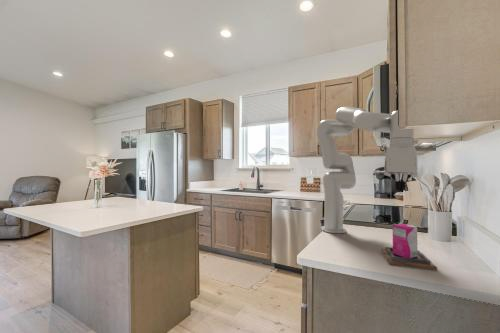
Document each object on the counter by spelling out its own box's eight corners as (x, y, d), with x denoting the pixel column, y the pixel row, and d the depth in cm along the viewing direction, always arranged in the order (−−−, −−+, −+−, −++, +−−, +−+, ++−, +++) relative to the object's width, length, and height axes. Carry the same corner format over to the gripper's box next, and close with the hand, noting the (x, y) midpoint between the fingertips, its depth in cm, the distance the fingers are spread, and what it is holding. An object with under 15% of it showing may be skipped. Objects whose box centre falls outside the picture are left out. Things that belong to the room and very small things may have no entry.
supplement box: (402, 252, 92) (403, 223, 92) (418, 258, 87) (418, 226, 87) (391, 254, 90) (392, 224, 90) (406, 260, 85) (407, 228, 85)
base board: (381, 251, 97) (381, 245, 97) (421, 256, 93) (421, 249, 93) (389, 264, 84) (389, 257, 84) (437, 270, 79) (437, 263, 79)
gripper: (420, 144, 92) (419, 191, 92) (377, 144, 96) (376, 189, 97) (428, 142, 85) (426, 194, 85) (381, 142, 89) (379, 191, 90)
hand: (399, 191), depth 91 cm, fingers closed
